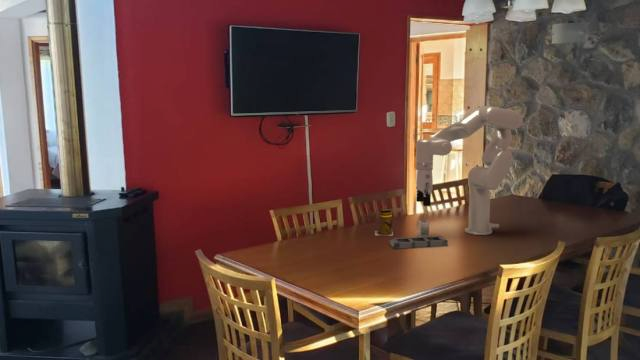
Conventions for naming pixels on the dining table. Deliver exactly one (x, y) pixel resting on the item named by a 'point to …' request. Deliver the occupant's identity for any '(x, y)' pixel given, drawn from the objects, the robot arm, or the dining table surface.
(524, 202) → the dining table surface
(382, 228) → the condiment
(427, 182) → the robot arm
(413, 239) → the grey flat rectangular frame
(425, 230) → the block
